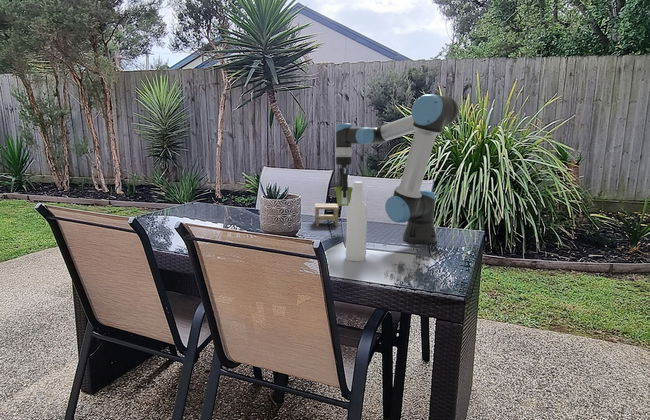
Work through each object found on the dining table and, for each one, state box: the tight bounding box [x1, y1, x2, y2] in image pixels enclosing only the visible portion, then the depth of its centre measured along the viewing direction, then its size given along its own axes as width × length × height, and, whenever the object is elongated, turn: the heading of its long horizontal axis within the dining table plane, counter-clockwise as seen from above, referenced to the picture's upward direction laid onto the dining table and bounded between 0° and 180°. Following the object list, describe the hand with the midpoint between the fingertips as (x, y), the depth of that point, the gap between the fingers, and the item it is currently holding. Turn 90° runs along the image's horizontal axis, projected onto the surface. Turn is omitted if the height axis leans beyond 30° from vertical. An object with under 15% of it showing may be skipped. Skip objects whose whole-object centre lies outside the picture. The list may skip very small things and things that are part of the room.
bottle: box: [345, 181, 368, 262], centre depth 165 cm, size 8×8×30 cm
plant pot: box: [333, 186, 353, 207], centre depth 211 cm, size 9×9×9 cm
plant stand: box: [314, 202, 340, 227], centre depth 229 cm, size 12×12×10 cm
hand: (343, 202), depth 211 cm, fingers closed on plant pot, 9 cm apart
